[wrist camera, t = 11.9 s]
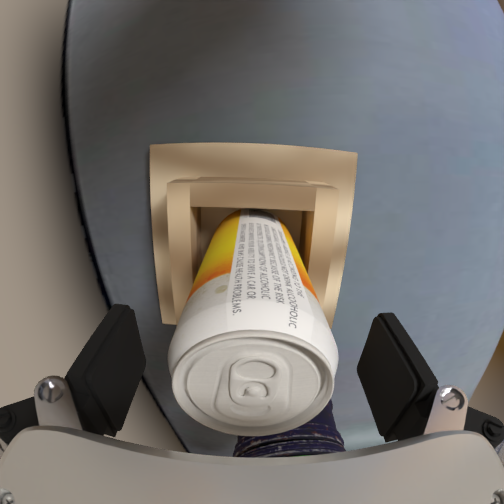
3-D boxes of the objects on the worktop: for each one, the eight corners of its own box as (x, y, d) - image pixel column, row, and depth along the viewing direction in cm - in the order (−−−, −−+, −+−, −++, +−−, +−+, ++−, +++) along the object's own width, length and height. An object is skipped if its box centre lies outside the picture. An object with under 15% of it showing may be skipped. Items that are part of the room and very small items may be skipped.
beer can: (212, 275, 23) (171, 432, 9) (215, 202, 21) (148, 311, 7) (285, 280, 23) (320, 439, 9) (294, 209, 21) (370, 325, 7)
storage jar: (218, 371, 28) (204, 495, 14) (298, 331, 26) (327, 468, 12) (267, 413, 31) (272, 516, 17) (336, 383, 29) (368, 490, 15)
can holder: (154, 144, 20) (129, 144, 15) (353, 152, 20) (379, 154, 16) (165, 317, 26) (150, 350, 21) (328, 322, 26) (342, 355, 21)
